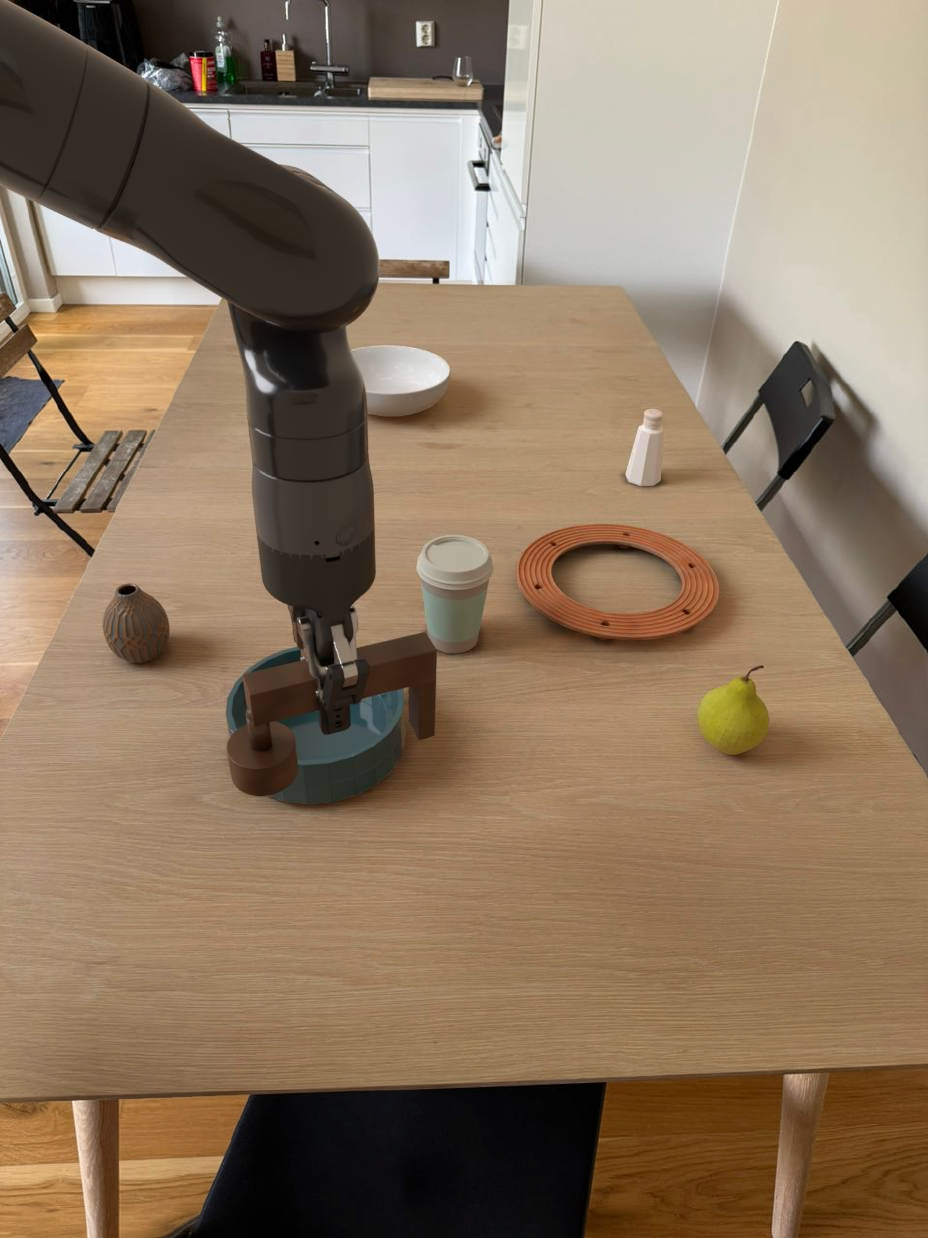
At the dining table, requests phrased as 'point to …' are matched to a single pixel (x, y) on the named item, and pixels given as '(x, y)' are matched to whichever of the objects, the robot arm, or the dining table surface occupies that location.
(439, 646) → the coffee cup
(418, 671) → the brown wooden bracket
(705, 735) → the fruit
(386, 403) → the serving bowl
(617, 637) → the ring
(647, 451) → the pepper shaker
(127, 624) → the vase
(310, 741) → the mixing bowl
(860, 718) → the dining table surface
